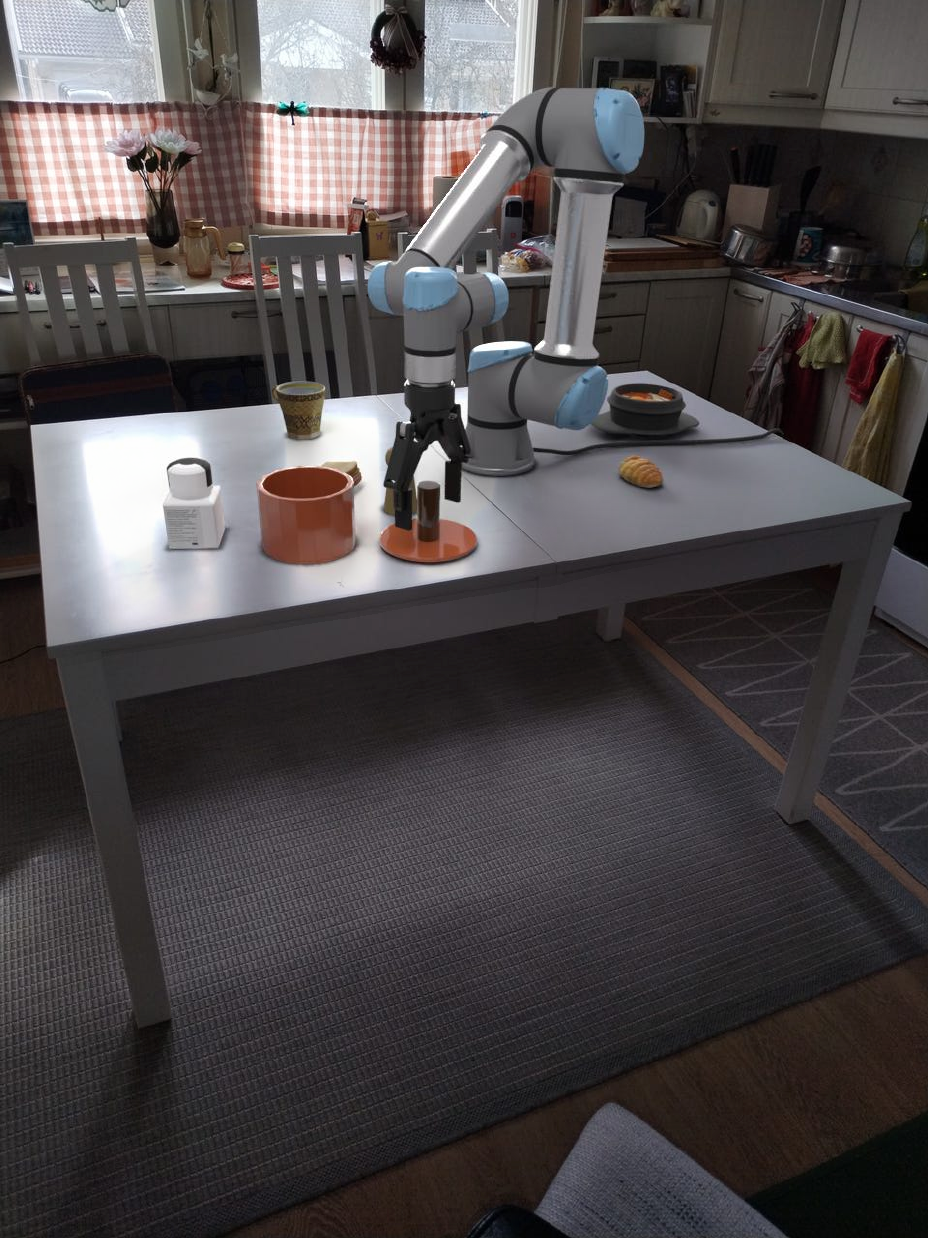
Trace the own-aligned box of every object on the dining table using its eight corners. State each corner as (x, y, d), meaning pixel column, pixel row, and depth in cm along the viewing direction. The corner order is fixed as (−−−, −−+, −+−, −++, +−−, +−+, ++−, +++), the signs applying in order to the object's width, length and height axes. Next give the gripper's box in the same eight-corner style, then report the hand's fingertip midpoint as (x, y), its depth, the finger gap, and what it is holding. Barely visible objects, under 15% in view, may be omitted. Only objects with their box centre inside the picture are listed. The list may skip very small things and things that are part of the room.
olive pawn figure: (413, 517, 158) (413, 455, 152) (379, 513, 159) (378, 452, 153) (421, 503, 163) (422, 444, 157) (388, 500, 164) (388, 440, 158)
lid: (478, 526, 155) (480, 469, 150) (474, 567, 141) (476, 506, 136) (386, 522, 155) (385, 465, 150) (373, 563, 142) (372, 501, 137)
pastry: (671, 487, 173) (674, 468, 171) (641, 492, 170) (644, 473, 168) (642, 470, 180) (644, 452, 178) (613, 475, 178) (615, 456, 176)
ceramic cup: (337, 433, 195) (335, 386, 190) (306, 445, 188) (302, 397, 183) (290, 421, 201) (287, 376, 196) (258, 433, 194) (254, 386, 189)
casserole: (671, 413, 214) (676, 377, 210) (714, 438, 199) (721, 400, 195) (573, 421, 207) (576, 384, 202) (610, 448, 191) (615, 408, 187)
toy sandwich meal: (311, 471, 175) (310, 447, 173) (372, 484, 170) (371, 460, 168) (271, 492, 165) (269, 467, 163) (334, 507, 160) (333, 482, 158)
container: (177, 529, 151) (167, 453, 144) (225, 528, 151) (217, 453, 145) (168, 549, 144) (157, 471, 138) (219, 549, 145) (209, 470, 138)
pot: (361, 527, 153) (359, 467, 148) (347, 566, 141) (344, 502, 135) (274, 523, 154) (269, 463, 149) (252, 562, 141) (246, 498, 136)
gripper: (455, 359, 146) (452, 485, 157) (356, 394, 128) (361, 534, 138) (495, 367, 143) (490, 494, 153) (400, 404, 124) (401, 547, 135)
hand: (428, 513), depth 146 cm, fingers open, 13 cm apart
